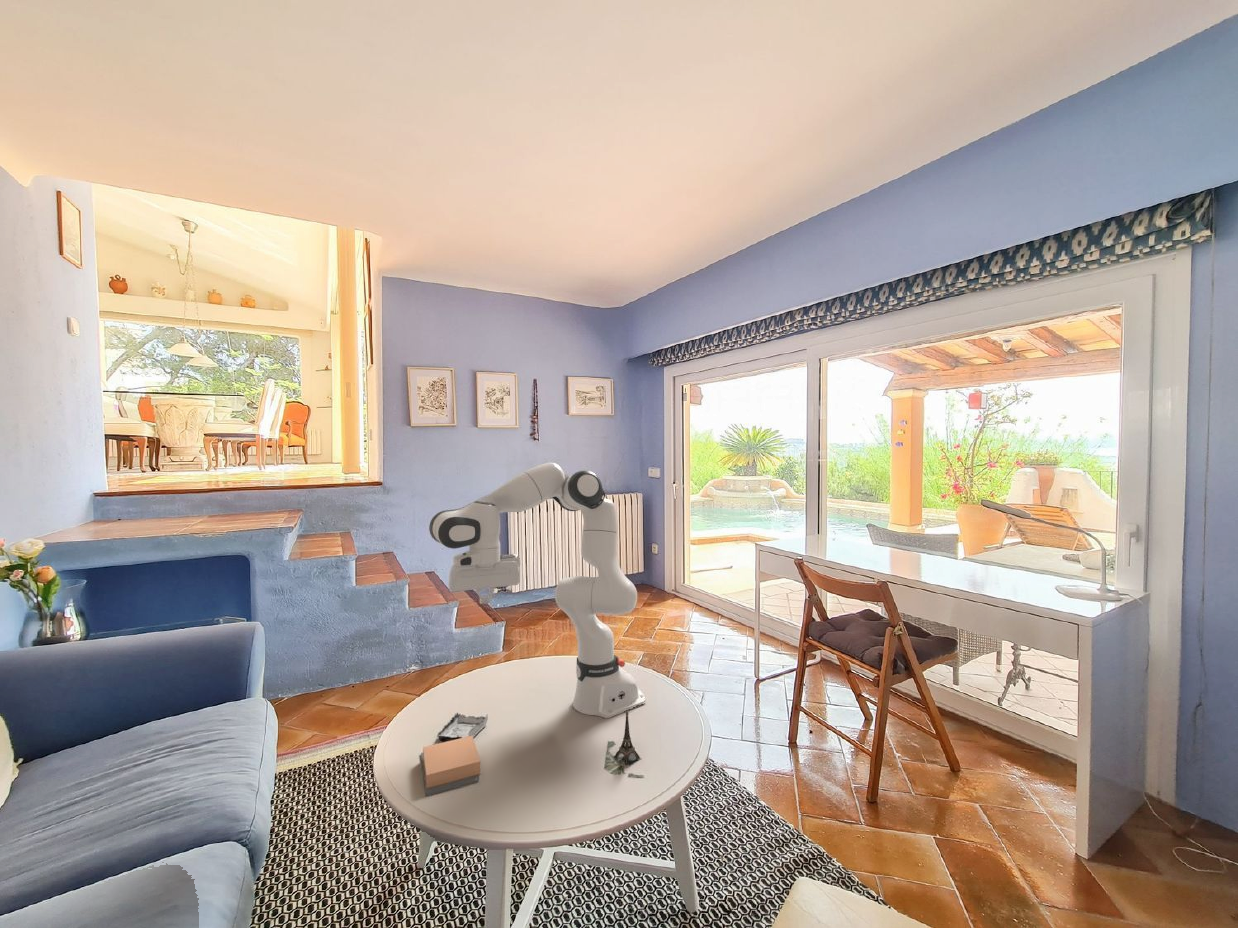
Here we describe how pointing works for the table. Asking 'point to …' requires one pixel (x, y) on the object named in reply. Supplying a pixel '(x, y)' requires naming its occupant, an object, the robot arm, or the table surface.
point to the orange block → (450, 761)
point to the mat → (448, 785)
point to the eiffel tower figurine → (622, 755)
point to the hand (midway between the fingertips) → (485, 602)
